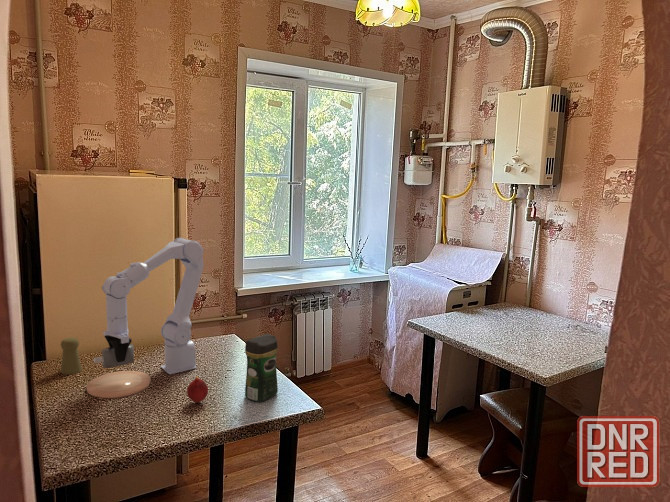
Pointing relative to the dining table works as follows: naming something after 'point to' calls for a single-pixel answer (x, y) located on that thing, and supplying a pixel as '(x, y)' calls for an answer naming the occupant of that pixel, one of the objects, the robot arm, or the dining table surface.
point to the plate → (118, 384)
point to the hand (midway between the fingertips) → (118, 359)
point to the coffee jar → (261, 368)
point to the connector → (114, 357)
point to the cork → (70, 356)
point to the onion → (197, 390)
